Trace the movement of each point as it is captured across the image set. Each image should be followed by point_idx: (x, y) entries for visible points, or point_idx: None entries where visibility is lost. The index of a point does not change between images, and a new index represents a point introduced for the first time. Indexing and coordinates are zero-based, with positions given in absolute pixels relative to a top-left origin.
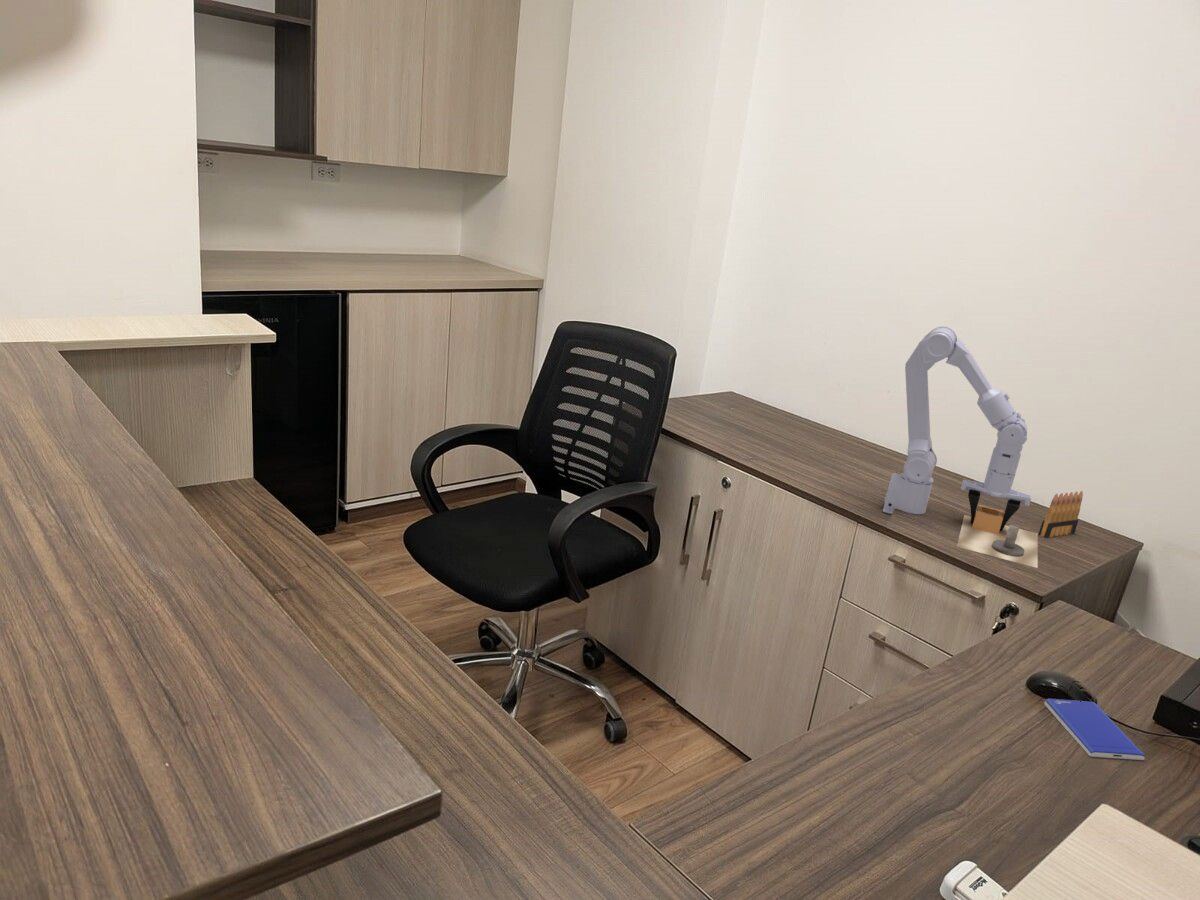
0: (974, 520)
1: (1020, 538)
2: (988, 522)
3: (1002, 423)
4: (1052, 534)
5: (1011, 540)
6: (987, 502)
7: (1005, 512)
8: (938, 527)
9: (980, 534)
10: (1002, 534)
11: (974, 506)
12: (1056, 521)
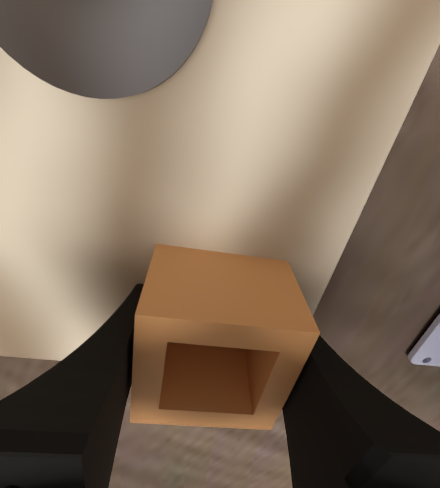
0: (298, 288)
1: (38, 256)
2: (222, 286)
3: None
4: None
5: None
6: (173, 485)
7: (115, 371)
8: (421, 241)
9: (261, 188)
10: (133, 258)
11: (340, 377)
12: None
